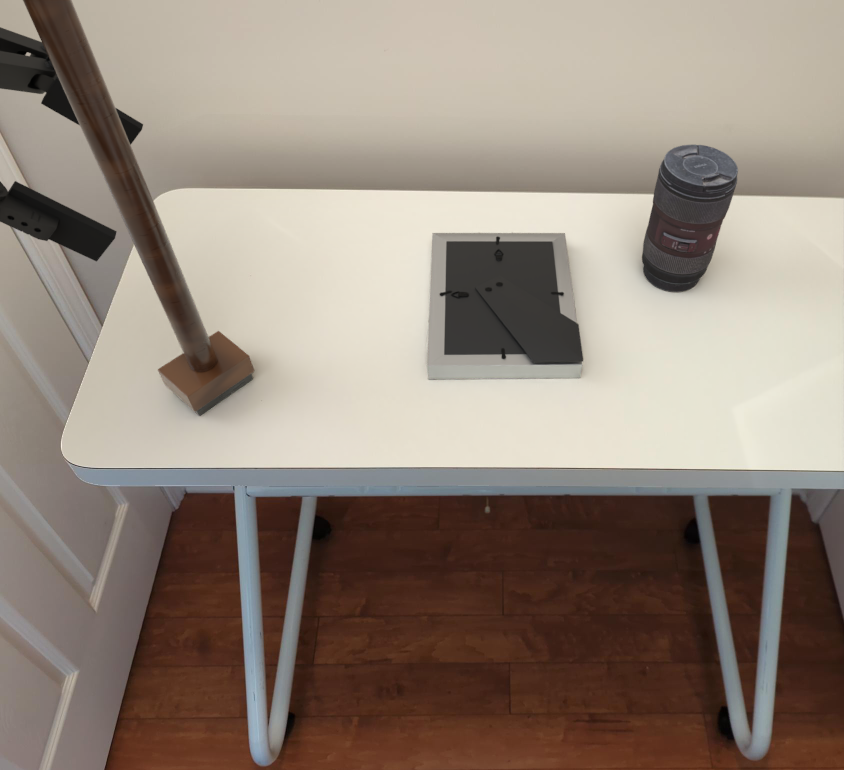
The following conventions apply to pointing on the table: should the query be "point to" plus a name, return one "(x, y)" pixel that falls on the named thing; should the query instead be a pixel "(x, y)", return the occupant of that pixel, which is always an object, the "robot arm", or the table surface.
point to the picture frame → (502, 307)
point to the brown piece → (139, 213)
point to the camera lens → (687, 215)
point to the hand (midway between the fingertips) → (122, 188)
